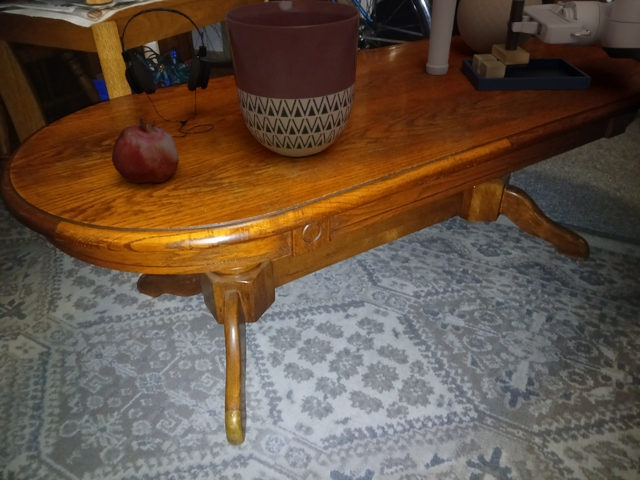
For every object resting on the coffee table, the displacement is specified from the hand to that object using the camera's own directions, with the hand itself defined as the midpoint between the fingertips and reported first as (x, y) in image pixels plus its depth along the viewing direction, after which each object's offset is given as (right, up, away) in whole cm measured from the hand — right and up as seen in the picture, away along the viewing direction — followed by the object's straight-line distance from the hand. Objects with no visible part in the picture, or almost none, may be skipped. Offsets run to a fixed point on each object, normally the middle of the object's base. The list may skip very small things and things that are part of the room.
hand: (509, 24), depth 110 cm
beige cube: (-3, -11, +3) cm, 12 cm away
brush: (+1, -7, +4) cm, 8 cm away
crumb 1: (-3, -8, +8) cm, 12 cm away
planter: (-44, -31, -24) cm, 59 cm away
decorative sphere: (+4, +2, +24) cm, 24 cm away
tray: (+5, -10, +6) cm, 13 cm away
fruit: (-66, -37, -32) cm, 82 cm away
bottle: (-13, -7, +12) cm, 19 cm away
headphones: (-67, -25, -14) cm, 73 cm away
